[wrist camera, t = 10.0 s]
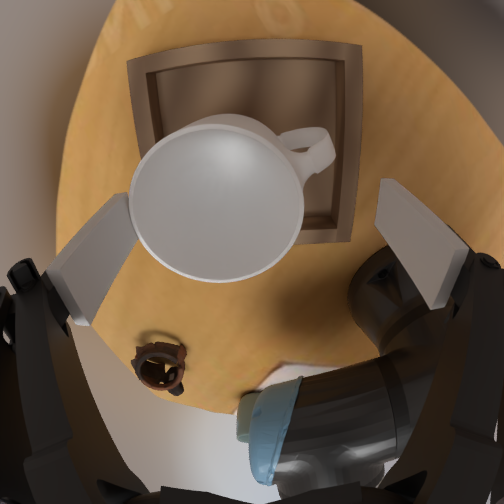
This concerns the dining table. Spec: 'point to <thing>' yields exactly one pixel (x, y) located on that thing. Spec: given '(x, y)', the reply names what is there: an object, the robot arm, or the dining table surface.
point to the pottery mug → (160, 367)
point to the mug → (225, 195)
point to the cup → (245, 416)
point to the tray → (265, 107)
